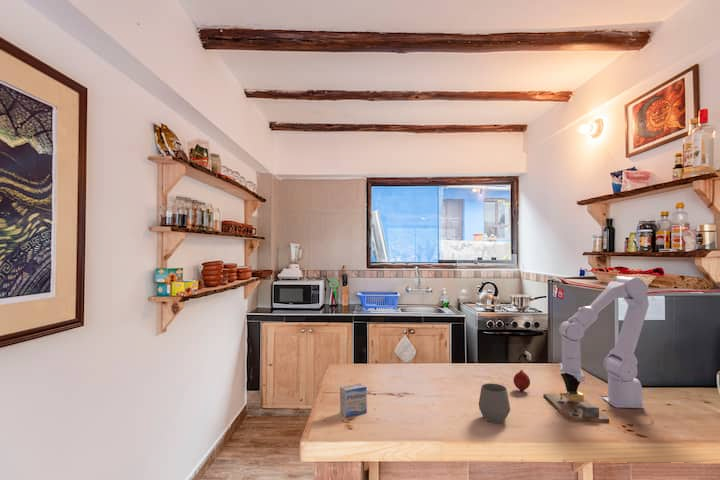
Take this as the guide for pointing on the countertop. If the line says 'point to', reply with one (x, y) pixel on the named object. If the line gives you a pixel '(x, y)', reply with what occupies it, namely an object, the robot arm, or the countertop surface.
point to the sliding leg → (573, 396)
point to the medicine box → (353, 400)
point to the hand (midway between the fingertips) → (571, 395)
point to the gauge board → (576, 409)
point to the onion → (521, 380)
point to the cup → (494, 402)
